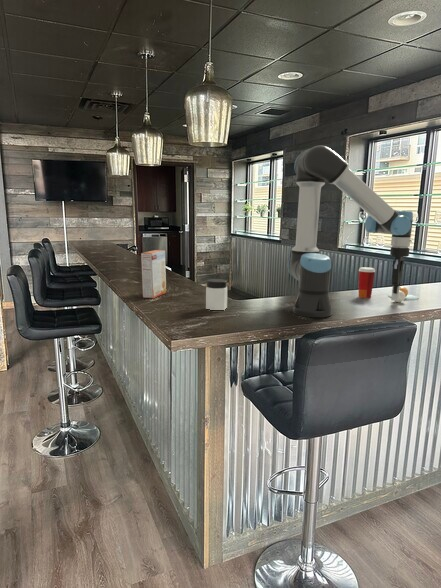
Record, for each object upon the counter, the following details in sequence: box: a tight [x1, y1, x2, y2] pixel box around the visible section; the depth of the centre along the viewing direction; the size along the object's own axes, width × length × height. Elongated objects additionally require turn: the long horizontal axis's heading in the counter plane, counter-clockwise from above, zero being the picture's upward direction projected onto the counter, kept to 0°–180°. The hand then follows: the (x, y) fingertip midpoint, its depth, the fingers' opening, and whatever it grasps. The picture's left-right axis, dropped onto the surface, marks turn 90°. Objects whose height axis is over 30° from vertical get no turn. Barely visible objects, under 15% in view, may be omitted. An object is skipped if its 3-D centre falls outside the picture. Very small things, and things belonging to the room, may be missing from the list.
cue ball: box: [394, 290, 405, 303], centre depth 187 cm, size 6×6×6 cm
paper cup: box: [357, 266, 376, 299], centre depth 197 cm, size 8×8×14 cm
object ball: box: [399, 286, 409, 297], centre depth 196 cm, size 6×6×6 cm
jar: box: [205, 278, 228, 311], centre depth 169 cm, size 9×8×12 cm
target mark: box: [386, 293, 420, 301], centre depth 200 cm, size 14×14×1 cm
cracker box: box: [140, 249, 167, 299], centre depth 193 cm, size 14×6×21 cm, turn 162°
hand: (394, 300), depth 183 cm, fingers closed
